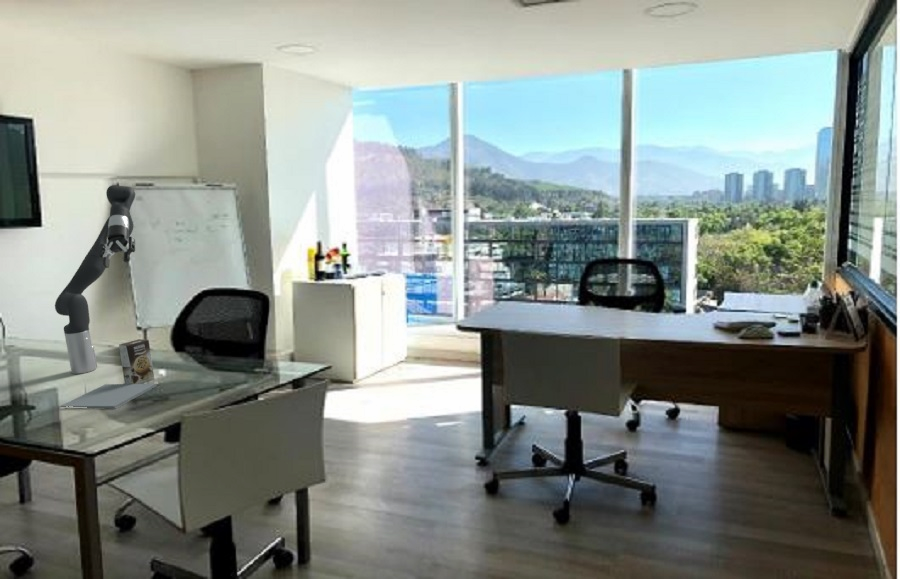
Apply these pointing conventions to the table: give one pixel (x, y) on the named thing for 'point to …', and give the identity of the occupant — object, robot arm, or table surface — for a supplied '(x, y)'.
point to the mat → (110, 395)
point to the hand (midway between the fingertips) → (116, 264)
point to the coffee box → (136, 362)
